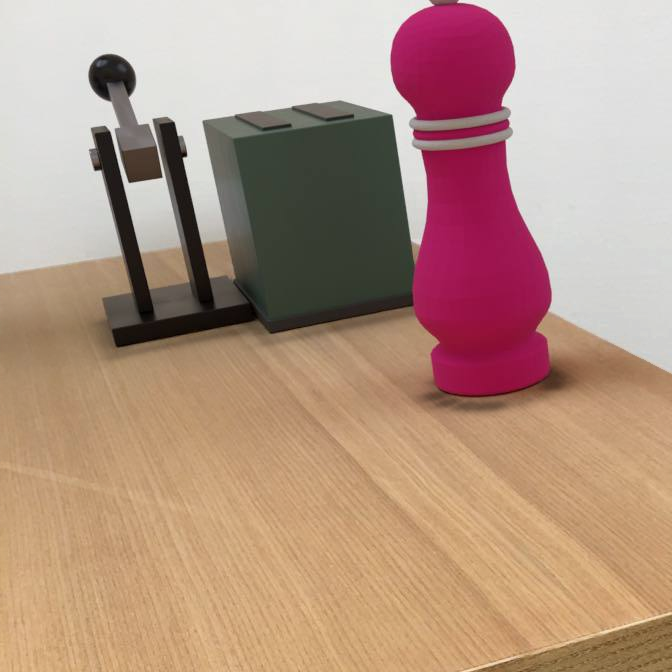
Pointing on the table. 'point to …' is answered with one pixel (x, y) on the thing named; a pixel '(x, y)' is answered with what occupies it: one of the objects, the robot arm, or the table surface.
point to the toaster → (313, 211)
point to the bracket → (201, 291)
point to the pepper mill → (470, 204)
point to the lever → (126, 117)
